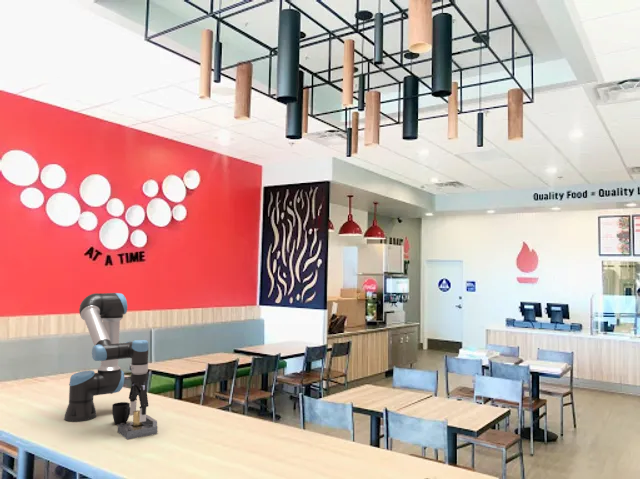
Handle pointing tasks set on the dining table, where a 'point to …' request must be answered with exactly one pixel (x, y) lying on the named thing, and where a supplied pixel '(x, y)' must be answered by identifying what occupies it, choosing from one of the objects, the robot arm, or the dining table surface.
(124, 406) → the mug
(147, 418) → the jig
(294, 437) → the dining table surface
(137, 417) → the brass cylinder
